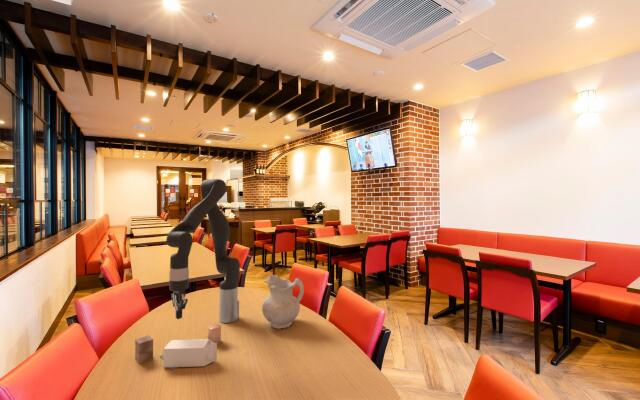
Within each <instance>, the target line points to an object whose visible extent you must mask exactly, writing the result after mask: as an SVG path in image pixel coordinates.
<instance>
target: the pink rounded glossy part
mask: <svg viewBox="0 0 640 400" xmlns="http://www.w3.org/2000/svg"><path fill="white" fill-rule="evenodd" d="M221 332H222V325H221V324H219V323H218V324H216V323H215V324H210V325H209V326H207V339H210V340H211V341H212V342H213V343H217V346H218V345H220V344H221V343H222V333H221Z"/></svg>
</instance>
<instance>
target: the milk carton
mask: <svg viewBox="0 0 640 400" xmlns="http://www.w3.org/2000/svg"><path fill="white" fill-rule="evenodd" d="M217 349H218V345H217V343H213V342H212V341H211V340H210V339H208V338H203V339H201V338H199V339H170V341H169V342H168V343H167V344H166V346H165V347H164V348H163V350H162V351H163V353H162V355H163V360H162V363H163V365H162V367H163V368H170V367H178V368H189V367H192V368H193V367H205V366H207V365H209V364H211V363H213V362H217V361H218V353H217V352H218V350H217Z"/></svg>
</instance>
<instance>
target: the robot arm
mask: <svg viewBox="0 0 640 400" xmlns="http://www.w3.org/2000/svg"><path fill="white" fill-rule="evenodd" d="M200 193H201V196H202V200H201V201H200V202H198V203H197V204H196V205H194V206H193V207H191V209H189V211H188V212H187V213H186V215H185V216H184V218H183V219H182V220H181V222H179V223H178V224H177V225H176V226H174V227H173V228H172V229H171V230H170V231H169V232H168V233H167V236H166V241H165V242H166V245H167V246H169V247H170V248H175V249H177V252H175V253H173V254H171V255H170V262H169V266H170V267H169V275H168V276H169V278H168V279H169V280H168V281H169V282H168V283H169V285H168V286H169V287H168V288H169V289H168V290H170V291H171V292H173V293H171V294H170V298H171V301H172V302H171V303H172V307H173V308H174V311H175V319H177V320H179V319H183V310H185V309H186V306H187V304H188V301H189V300H188V298H186V290H187V289H189V286H190V277H189V276H190V272H189V271H190V269H189V256H190V254H191V249H192V247H193V241H194V240H193V235H192V234H191V233H193V232H195V231H196V230H197V229H198V228H199V227H200V225H201V224H202V221H203V220H204V219H205V217H206V216H207V218H208V223H209V228H210V229H209V230H210V233H211V237H212V243H213V249H214V257H215V258H214V259H215V267H216V270H217V272H218V273H219V274H221V275H226V278H225V279H224V280H221V282H220V283H219V312H218V314H219V316H218V317H219V320H218V321H219V322H220V323H223V324H229V323H233V322H235V321H237V320H239V319H240V300H239V299H238V298H239V297H238V296H239V295H238V294H239V291H238V289H239V288H238V287H239V283H240V272H241V271H240V269H241V264H240V261H239V259H238V258H237V257H233V256H228V252H227V245H228V241H229V239H230V235H231V230H230V225H229V220H228V217H227V216H226V215H225V214H224V213H223V211H222V210H221V208H220V207H219V206H218V202H219V201H220V200H221V199H222V198H223V197H224V196H225V195H226V193H227V184H226V182H225V181H224V180H223V179H220V178H214V179H213V178H212V179H205V180H202V182H201V184H200Z"/></svg>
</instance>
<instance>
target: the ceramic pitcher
mask: <svg viewBox="0 0 640 400" xmlns="http://www.w3.org/2000/svg"><path fill="white" fill-rule="evenodd" d="M264 282H265V283H266V284H267V285H268V288H269V292H270V294H269V296H268V297H267V298H265V299H264V301H263V303H262V310H261V311H262V314H263V316H264V318H265V320H267V321H268V322H269V323H270V324H269V326H270V327H271V328H273V329H275V328H276V330H281V328H283V329H287V328H286V327H288V328H290V327H289V326H290V325H291V324H292V323H293V321H295V320H296V319H297V317H298V316H299V314H300V313H299V312H300V308H301V303H300V302H301V301H302V298H303V296H304V293H305V292H304V291H305V290H304V287H305V286H304V284H303V281H302V279H301V278H300V277H296V278H294V281H293V282H291V281H290V280H289V279H288V278H280V276H279V275H275V274H271V275H269V276H268V277H267V278H266V279H265V280H264ZM297 286H298V287H299V292H298V295H297V297H296V296H294V295H293V289H294V287H297Z"/></svg>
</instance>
